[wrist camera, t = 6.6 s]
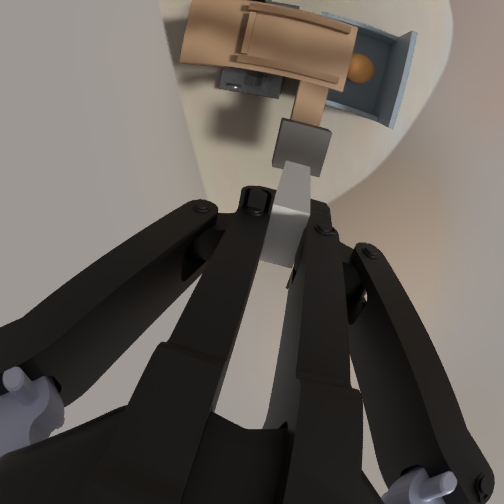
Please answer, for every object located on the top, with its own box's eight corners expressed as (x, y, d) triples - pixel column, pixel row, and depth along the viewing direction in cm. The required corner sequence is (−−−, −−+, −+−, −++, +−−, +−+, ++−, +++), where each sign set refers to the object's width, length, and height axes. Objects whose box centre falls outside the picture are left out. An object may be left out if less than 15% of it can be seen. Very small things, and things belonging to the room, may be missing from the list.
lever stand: (240, 0, 25) (217, -24, 16) (299, 8, 24) (295, -18, 16) (221, 88, 33) (192, 89, 25) (278, 98, 32) (268, 101, 24)
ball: (383, 62, 24) (357, 56, 27) (366, 51, 22) (339, 47, 25) (376, 89, 27) (351, 82, 29) (359, 81, 25) (332, 75, 27)
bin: (321, 19, 25) (324, -1, 17) (394, 43, 24) (417, 32, 17) (302, 97, 32) (301, 98, 24) (374, 119, 31) (393, 129, 24)
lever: (203, 7, 22) (188, -9, 16) (344, 34, 23) (364, 24, 18) (181, 135, 32) (162, 149, 26) (312, 159, 33) (323, 178, 28)
